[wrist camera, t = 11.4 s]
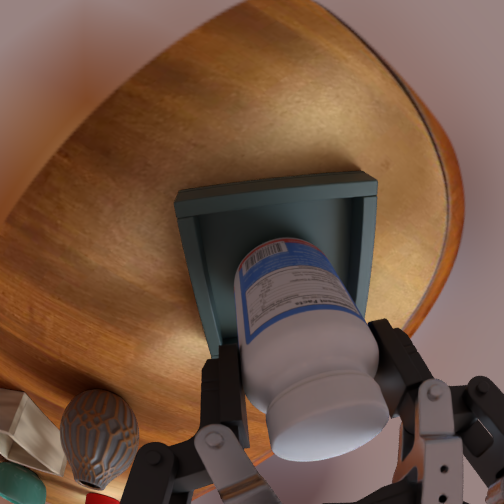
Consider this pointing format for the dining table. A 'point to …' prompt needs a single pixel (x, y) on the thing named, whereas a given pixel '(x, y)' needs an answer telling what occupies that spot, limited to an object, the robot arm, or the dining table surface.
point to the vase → (98, 437)
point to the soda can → (99, 499)
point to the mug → (20, 484)
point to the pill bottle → (306, 353)
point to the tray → (274, 235)
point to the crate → (29, 434)
